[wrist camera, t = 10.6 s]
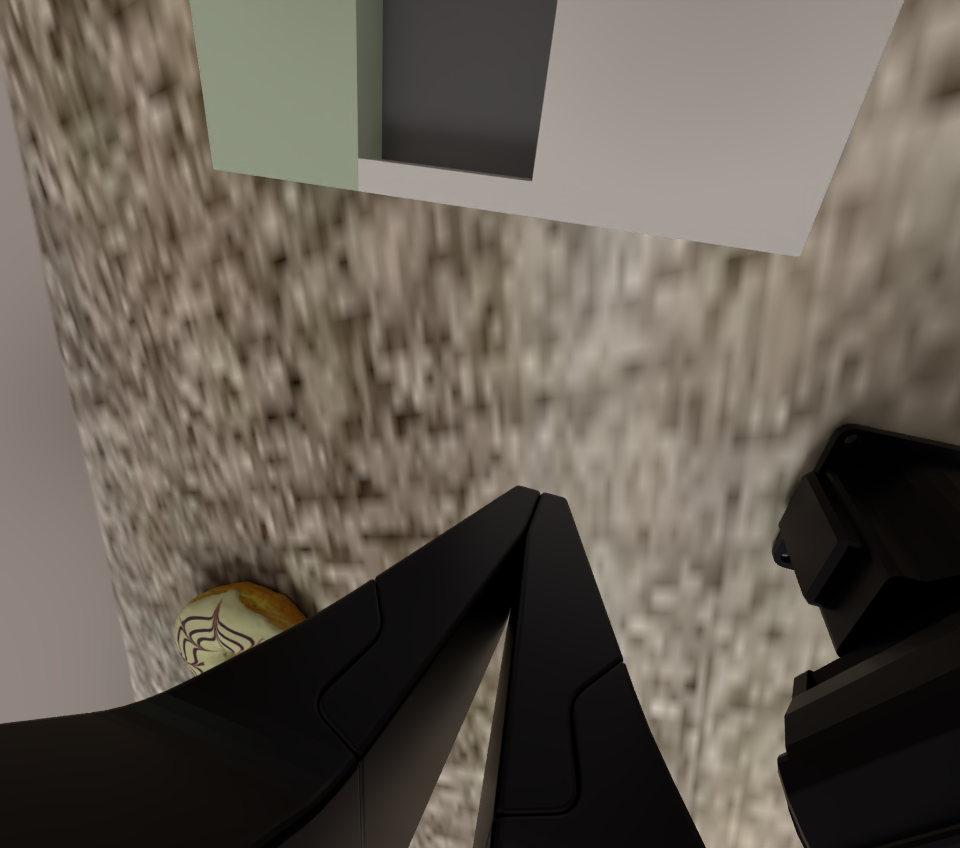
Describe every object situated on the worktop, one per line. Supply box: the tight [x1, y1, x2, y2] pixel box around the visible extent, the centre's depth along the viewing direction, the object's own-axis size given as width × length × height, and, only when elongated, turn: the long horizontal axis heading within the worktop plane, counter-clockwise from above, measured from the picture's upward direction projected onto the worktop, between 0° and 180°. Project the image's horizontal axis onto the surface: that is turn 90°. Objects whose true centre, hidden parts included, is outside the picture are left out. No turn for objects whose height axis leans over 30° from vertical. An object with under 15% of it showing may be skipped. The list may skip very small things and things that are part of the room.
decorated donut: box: [174, 582, 307, 676], centre depth 34 cm, size 10×11×4 cm
